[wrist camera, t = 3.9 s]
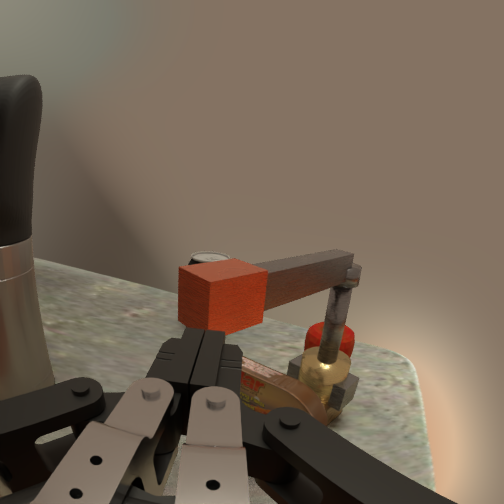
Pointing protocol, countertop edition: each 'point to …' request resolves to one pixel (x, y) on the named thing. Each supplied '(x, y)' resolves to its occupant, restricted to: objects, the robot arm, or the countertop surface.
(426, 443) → the countertop surface
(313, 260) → the valve lever
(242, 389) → the tin
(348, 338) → the apple
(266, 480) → the robot arm
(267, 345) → the countertop surface
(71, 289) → the countertop surface
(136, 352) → the countertop surface
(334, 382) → the valve base
